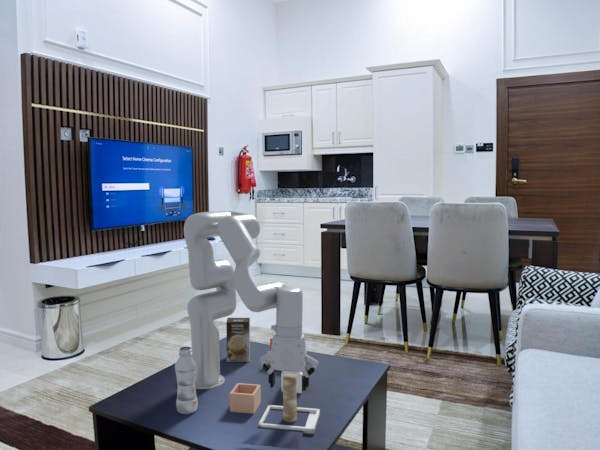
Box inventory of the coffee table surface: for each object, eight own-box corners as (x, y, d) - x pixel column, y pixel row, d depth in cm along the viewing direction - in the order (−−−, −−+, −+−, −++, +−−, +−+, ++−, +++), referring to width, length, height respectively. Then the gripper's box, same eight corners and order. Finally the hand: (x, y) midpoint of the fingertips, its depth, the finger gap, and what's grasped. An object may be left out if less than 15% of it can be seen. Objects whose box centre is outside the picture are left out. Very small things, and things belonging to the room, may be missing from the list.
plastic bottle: (187, 419, 143) (185, 353, 141) (171, 413, 146) (169, 349, 145) (202, 410, 148) (201, 347, 147) (186, 405, 152) (185, 343, 150)
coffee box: (226, 362, 188) (225, 322, 186) (227, 356, 194) (226, 317, 193) (249, 362, 188) (249, 321, 187) (250, 356, 195) (250, 317, 193)
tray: (258, 429, 137) (258, 424, 137) (268, 409, 149) (268, 404, 149) (314, 434, 134) (314, 429, 134) (320, 413, 146) (320, 409, 146)
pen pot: (230, 414, 146) (229, 393, 146) (237, 402, 154) (237, 383, 153) (254, 416, 145) (254, 395, 144) (260, 404, 152) (260, 384, 152)
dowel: (281, 422, 140) (281, 378, 139) (284, 415, 144) (284, 373, 143) (295, 423, 139) (295, 379, 138) (298, 416, 143) (297, 374, 142)
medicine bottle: (302, 395, 159) (302, 360, 157) (281, 393, 160) (280, 358, 159) (306, 386, 166) (306, 352, 164) (286, 384, 167) (285, 351, 166)
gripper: (256, 332, 137) (256, 390, 139) (317, 336, 134) (316, 395, 136) (263, 324, 144) (263, 379, 146) (320, 328, 141) (319, 384, 143)
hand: (288, 387), depth 141 cm, fingers open, 9 cm apart
